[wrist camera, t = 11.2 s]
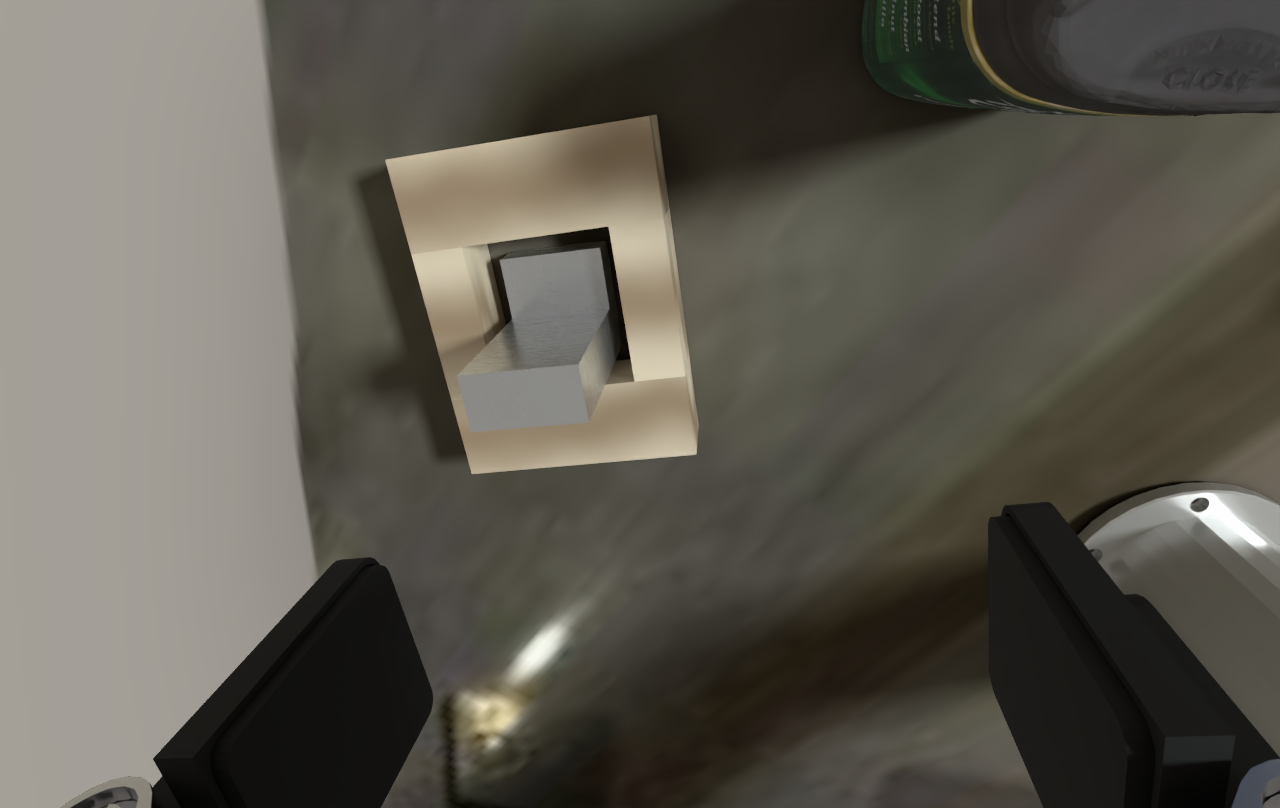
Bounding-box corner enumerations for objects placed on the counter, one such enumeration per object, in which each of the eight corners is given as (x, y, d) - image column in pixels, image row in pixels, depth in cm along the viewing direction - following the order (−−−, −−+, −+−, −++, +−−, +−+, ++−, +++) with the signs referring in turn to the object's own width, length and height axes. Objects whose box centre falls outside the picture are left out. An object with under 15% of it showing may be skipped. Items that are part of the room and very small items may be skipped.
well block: (698, 425, 39) (696, 454, 35) (491, 444, 41) (471, 473, 37) (656, 114, 33) (649, 115, 29) (416, 154, 35) (385, 159, 31)
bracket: (622, 344, 37) (589, 422, 28) (532, 353, 38) (471, 432, 29) (606, 240, 35) (564, 288, 26) (511, 251, 36) (438, 302, 27)
